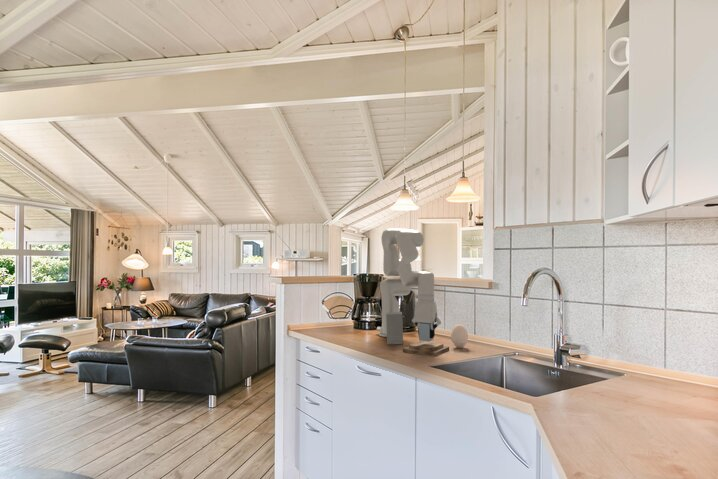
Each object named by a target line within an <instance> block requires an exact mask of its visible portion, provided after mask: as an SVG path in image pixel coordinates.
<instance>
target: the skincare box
mask: <svg viewBox="0 0 718 479" xmlns="http://www.w3.org/2000/svg"><path fill="white" fill-rule="evenodd" d="M403 322H404V320H403V312H402V311H399V312H387V313H386V325H387V337H386V345H403V344H404V330H403V329H404V328H403V326H404V325H403V324H404V323H403Z"/></svg>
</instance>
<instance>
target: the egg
mask: <svg viewBox="0 0 718 479" xmlns="http://www.w3.org/2000/svg"><path fill="white" fill-rule="evenodd" d="M450 339H451V342H452V344H453V346H454V347H456V348H458V349H462V348H464V347H465V346H466V345H467V343H468V340H469V334H468V330H467V328H466V327H465V326H464V325H463V324H461V323H458V324H455V325H454V327H453V329H452V331H451V332H450Z"/></svg>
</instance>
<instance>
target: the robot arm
mask: <svg viewBox="0 0 718 479" xmlns="http://www.w3.org/2000/svg"><path fill="white" fill-rule="evenodd" d="M380 238H381V245H382V249H383V262H382V263H383V267H382V268H383V273H384V274H383V275H385V276H387V277H399V278H386V279H385V278H384V279H383V280H381V281H380V285H379V287H380V295H381V296H380V297H381V326H377V327H376V331H379V333H378V335H379V336H380V337H383V338H387V325H386V313H387V312H400V303H399V301H398V299H397V297H396V296H398V297H399V296H408V295H409V294H410V293H411V291H412V287H417V295H415V299H417V300H416V301H415V308H414V316H413V318H412V319H411V322H412V323H413V324H414V325H415V326H416V329H418V330H417V335H418V336H419V323H429V324H430V328H431V330H430V338H433V339H434V338H435V336H436V335H435V330H436V329H437V327H438V326H440V325H441V324H442V321H441V320H440V318H439V317H438V308H437V304H436V301H435V274H434V272H432V271H425V270H412V264H411V263H412V262H414V261H415V260H417V258H418V257H419V252H418V251H419V250H418V249H417V248H420V247H422V246H423V245H424V242H425V240H424V235H423V234H422V232H421V231H419V230H415V229H412V228H411V229H408V228H387V229H385V230H383V232H382V234H381V237H380ZM397 246H398V247H397ZM400 254H401V255H400ZM400 256H401V259H400V258H399V257H400Z"/></svg>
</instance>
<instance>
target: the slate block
mask: <svg viewBox="0 0 718 479" xmlns="http://www.w3.org/2000/svg"><path fill="white" fill-rule="evenodd" d="M430 330H431V328H430V324H429V323H419V335H418V342H419V341H424V342H433V341H434V338H430Z"/></svg>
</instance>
